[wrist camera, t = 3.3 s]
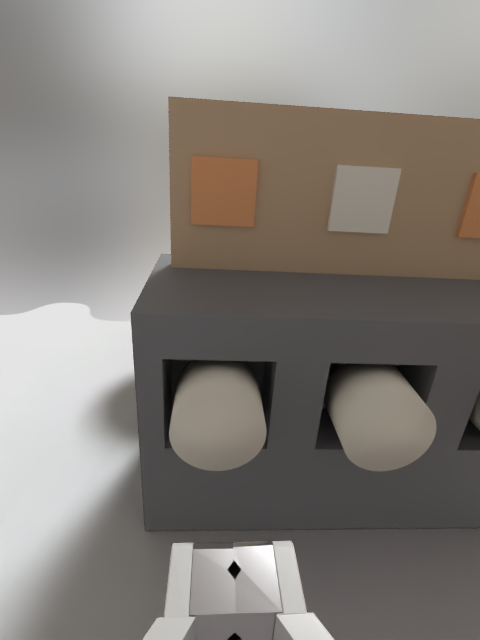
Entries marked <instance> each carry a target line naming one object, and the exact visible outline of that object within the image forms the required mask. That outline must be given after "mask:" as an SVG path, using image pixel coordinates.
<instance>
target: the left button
mask: <svg viewBox="0 0 480 640" xmlns="http://www.w3.org/2000/svg"><path fill="white" fill-rule="evenodd" d="M266 431H267V430H266V423H265V418H264V412H263V406H262V400H261V394H260V388H259V382H258V378H257V375H256V373H255V372H254V370H253V369H252V367H251V366H250V365H249V364H248V363H246V362H245V361H220V360H193V361H191V362H190V363H189V364H188V365H187V366H185V368H184V369H183V370H182V372H181V374H180V376H179V378H178V382H177V387H176V393H175V399H174V405H173V410H172V416H171V422H170V428H169V439H170V443H171V446H172V448H173V450H174V451H175V453H176V454H177V455H178V456H179V457H180V458H181V459H182V460H183V461H185V462H186V463H188V464H190V465H192V466H194V467H196V468H199V469H203V470H209V471H225V470H230V469H234V468H237V467H240V466H242V465H244V464H246V463H248V462H249V461H251V460H252V459H253V458H254V457H255V456H256V455H257V454H258V453H259V452H260V450H261V449H262V447H263V445H264V443H265V440H266Z"/></svg>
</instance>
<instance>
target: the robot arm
mask: <svg viewBox="0 0 480 640" xmlns="http://www.w3.org/2000/svg"><path fill="white" fill-rule="evenodd" d="M142 640H334V638H333V637H332V636H331V635H330V633H329V632H328V631H327V629H326V628H325V627H324V626H323V624H322V623H321V622H320V620H319V619H318V618H317V617H316V615H315V614H314V613H311V612H307V609H306V604H305V599H304V594H303V589H302V584H301V579H300V574H299V568H298V563H297V558H296V553H295V548H294V545H293V543H292V541H291V540H290V541H247V542H233V543H173V545H172V549H171V556H170V565H169V573H168V582H167V591H166V599H165V608H164V617H160V618H157V619H156V620H155V622H154V623H153V624H152V626H151V627H150V629H149V630H148V632H147V633H146V635H145V636H144V638H143V639H142Z"/></svg>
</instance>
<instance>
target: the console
mask: <svg viewBox="0 0 480 640" xmlns="http://www.w3.org/2000/svg"><path fill="white" fill-rule="evenodd" d="M168 100H169V154H170V155H169V160H170V216H171V217H170V219H171V254H161V255H160V257H159V259H158V261H157V263H156V265H155V267H154V269H153V271H152V273H151V275H150V277H149V278H148V280H147V282H146V284H145V286H144V288H143V290H142V292H141V294H140V296H139V298H138V300H137V302H136V304H135V305H134V308H133V310H132V311H131V326H132V342H133V357H134V372H135V387H136V402H137V418H138V433H139V448H140V463H141V478H142V493H143V509H144V524H145V531H160V530H277V529H394V528H480V430H479V429H478V428H477V427H476V426H475V425H474V424H473V423H472V422H471V421H470V420H469V417H470V415H471V412H472V409H473V407H474V404H475V401H476V399H477V396H478V394H479V391H480V119H473V118H459V117H445V116H431V115H417V114H403V113H389V112H375V111H361V110H347V109H333V108H320V107H305V106H291V105H278V104H263V103H250V102H237V101H236V102H235V101H223V100H222V101H221V100H209V99H195V98H194V99H193V98H181V97H168ZM193 360H220V361H245V362H246V363H248V364H249V365H250V366H251V367H252V369H253V370H254V372H255V373H256V375H257V378H258V382H259V388H260V394H261V400H262V406H263V412H264V418H265V423H266V430H267V431H266V440H265V443H264V445H263V447H262V449H261V450H260V452H259V453H258V454H257V455H256V456H255V457H254V458H253V459H252V460H251V461H249V462H248V463H246V464H244V465H242V466H240V467H237V468H234V469H230V470H225V471H209V470H203V469H199V468H196V467H194V466H192V465H190V464H188V463H186V462H185V461H183V460H182V459H181V458H180V457H179V456H178V455H177V454H176V453H175V451H174V450H173V448H172V446H171V443H170V439H169V428H170V422H171V416H172V410H173V405H174V399H175V393H176V387H177V382H178V378H179V376H180V374H181V372H182V370H183V369H184V368H185V366H187V365H188V364H189V363H190V362H191V361H193ZM345 363H349V364H392V365H394V366H395V367H396V368H397V369H398V370H399V371H400V373H401V374H402V375H403V376H404V378H405V379H406V380H407V381H408V383H409V384H410V385H411V386H412V388H413V389H414V390H415V391H416V393H417V394H418V395H419V396H420V398H421V399H422V400H423V401H424V403H425V404H426V405H427V406H428V408H429V409H430V410H431V412H432V413H433V415H434V417H435V420H436V434H435V437H434V440H433V442H432V444H431V445H430V447H429V448H428V449H427V451H426V452H425V453H424V454H423V455H422V456H421V457H419V458H418V459H417V460H415V461H414V462H412V463H410V464H408V465H406V466H404V467H401V468H399V469H395V470H390V471H370V470H366V469H363V468H360V467H358V466H357V465H355V464H354V463H352V462H351V461H350V460H349V459H348V457H347V456H346V454H345V451H344V449H343V447H342V444H341V442H340V439H339V437H338V434H337V432H336V430H335V427H334V425H333V422H332V420H331V417H330V415H329V413H328V410H327V408H326V405H325V403H324V396H325V391H326V385H327V381H328V379H329V377H330V376H331V375H332V374H333V372H334V371H335V370H336V369H338V368H339V367H340V366H342V365H343V364H345Z"/></svg>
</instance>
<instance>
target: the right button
mask: <svg viewBox="0 0 480 640" xmlns="http://www.w3.org/2000/svg"><path fill="white" fill-rule="evenodd" d="M469 420H470V421H471V422H472V423H473V424H474V425H475V426H476V427H477V428H478V429H479V430H480V391H479V394H478V396H477V399H476V401H475V404H474V407H473V409H472V412H471V415H470V417H469Z"/></svg>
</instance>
